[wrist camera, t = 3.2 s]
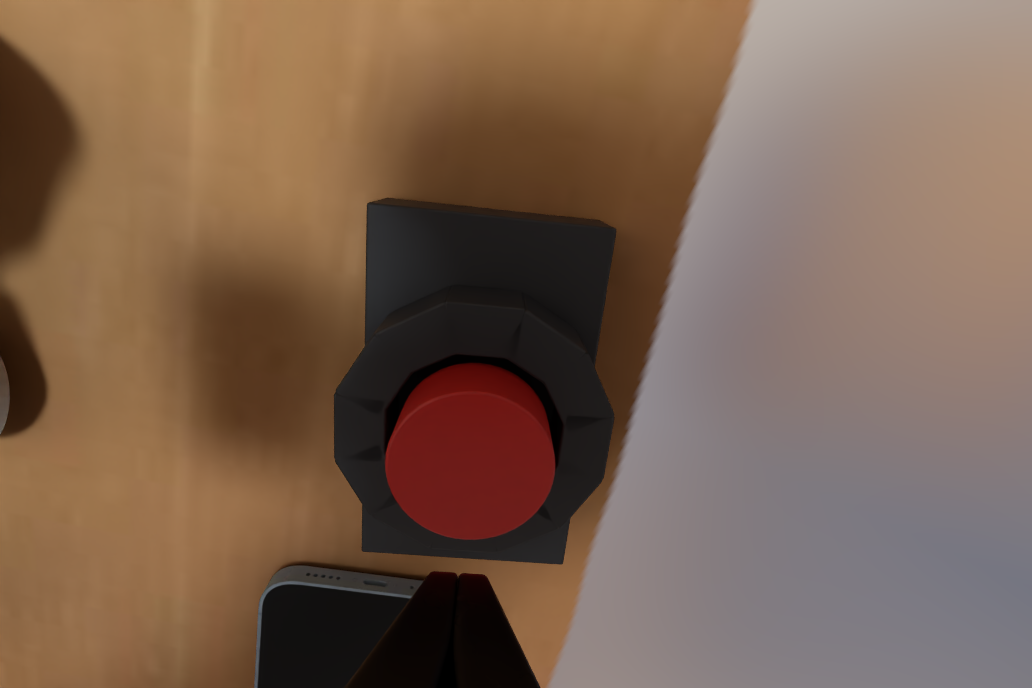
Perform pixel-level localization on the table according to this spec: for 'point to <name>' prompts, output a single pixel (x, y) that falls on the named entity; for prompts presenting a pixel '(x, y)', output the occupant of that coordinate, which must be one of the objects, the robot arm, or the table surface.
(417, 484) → the button
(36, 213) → the table surface
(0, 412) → the light fixture
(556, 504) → the switch block
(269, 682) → the smartphone
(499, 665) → the robot arm
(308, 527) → the table surface
